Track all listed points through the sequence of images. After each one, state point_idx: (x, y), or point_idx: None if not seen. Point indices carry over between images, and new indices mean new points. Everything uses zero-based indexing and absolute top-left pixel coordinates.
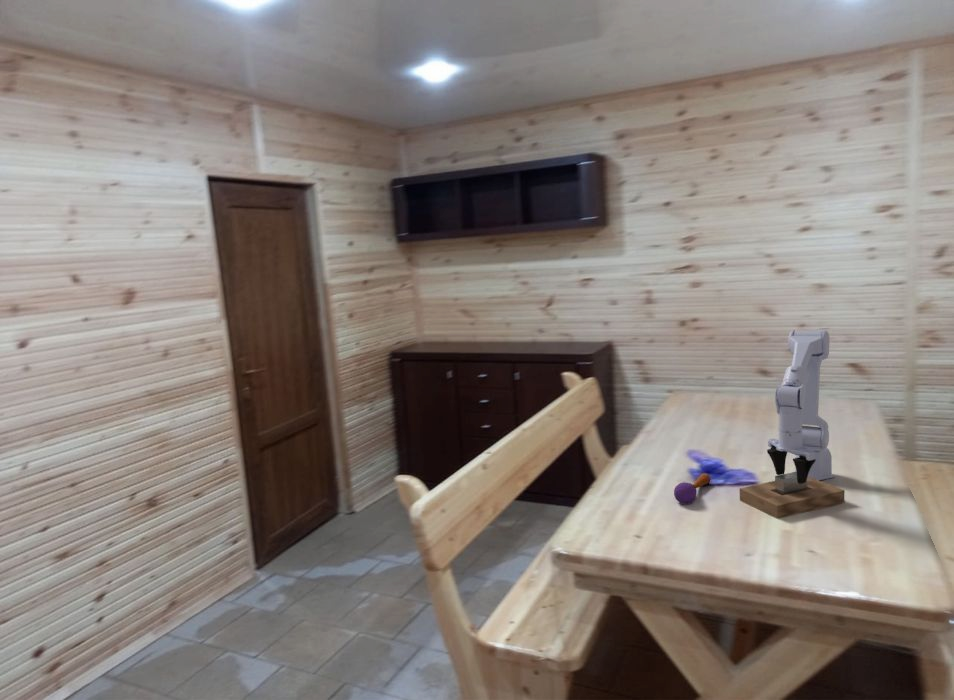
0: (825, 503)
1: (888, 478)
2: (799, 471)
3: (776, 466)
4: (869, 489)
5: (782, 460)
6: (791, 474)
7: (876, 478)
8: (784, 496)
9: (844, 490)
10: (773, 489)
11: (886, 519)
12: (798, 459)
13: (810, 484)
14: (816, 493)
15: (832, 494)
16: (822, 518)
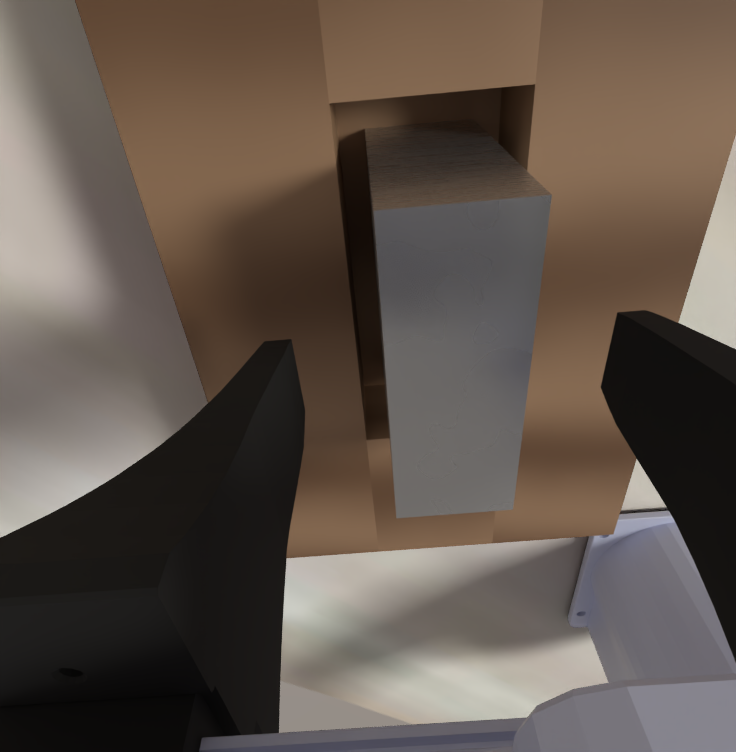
0: None
1: (439, 714)
2: (175, 434)
3: (690, 359)
4: (377, 636)
5: (701, 505)
6: (473, 405)
7: (461, 695)
8: (290, 104)
9: None
10: (527, 142)
11: (11, 515)
12: (65, 644)
13: None
14: None
15: None
16: (48, 241)
